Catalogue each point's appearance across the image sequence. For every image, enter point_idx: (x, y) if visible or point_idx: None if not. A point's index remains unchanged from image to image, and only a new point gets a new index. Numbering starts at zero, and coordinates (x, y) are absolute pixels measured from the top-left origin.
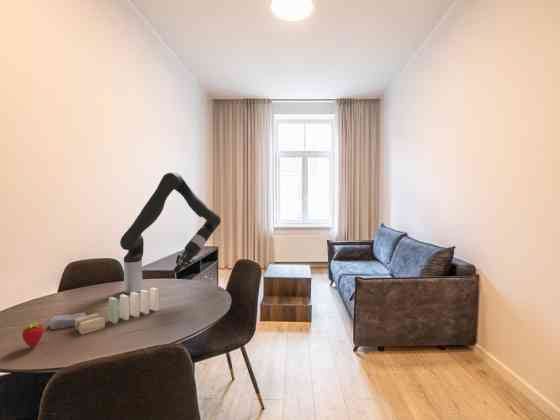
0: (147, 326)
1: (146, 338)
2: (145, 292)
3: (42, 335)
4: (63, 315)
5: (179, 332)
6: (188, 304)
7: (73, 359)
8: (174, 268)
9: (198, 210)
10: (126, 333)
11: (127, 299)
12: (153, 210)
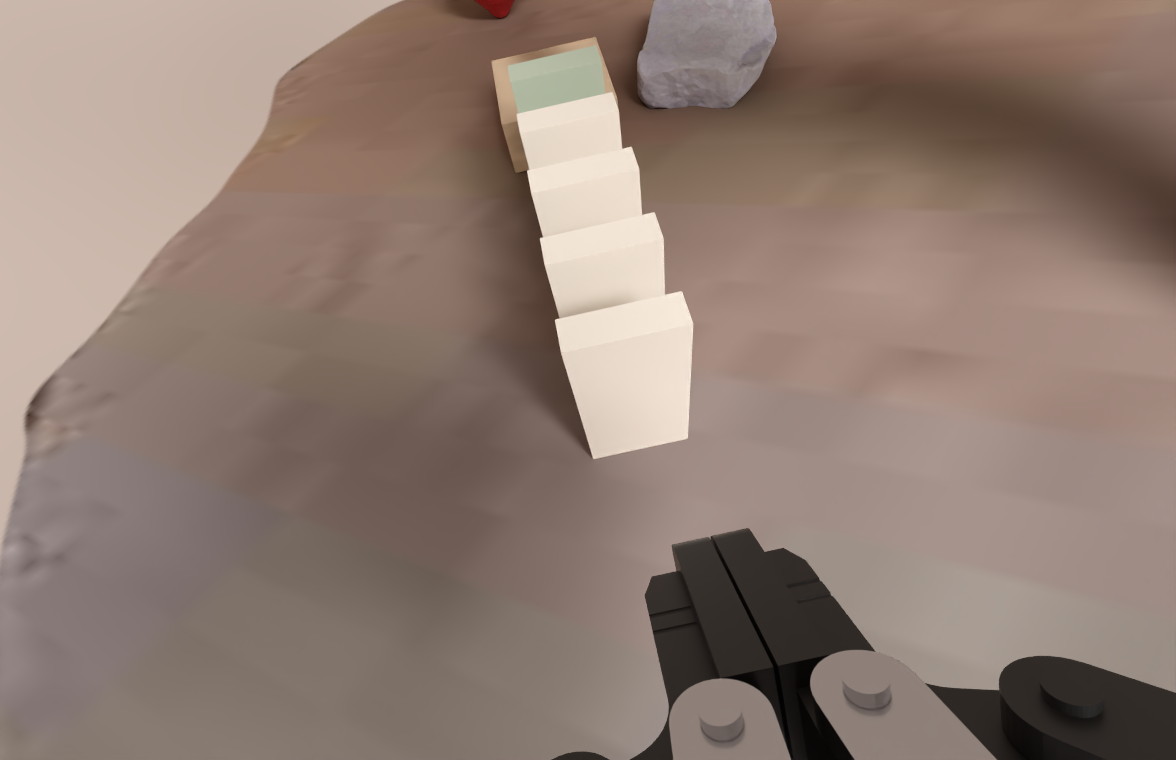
0: (349, 334)
1: (207, 305)
2: (540, 239)
3: None
4: (742, 10)
5: (95, 461)
6: None
7: (288, 105)
8: (768, 562)
9: None
10: (352, 242)
11: (524, 148)
12: None
